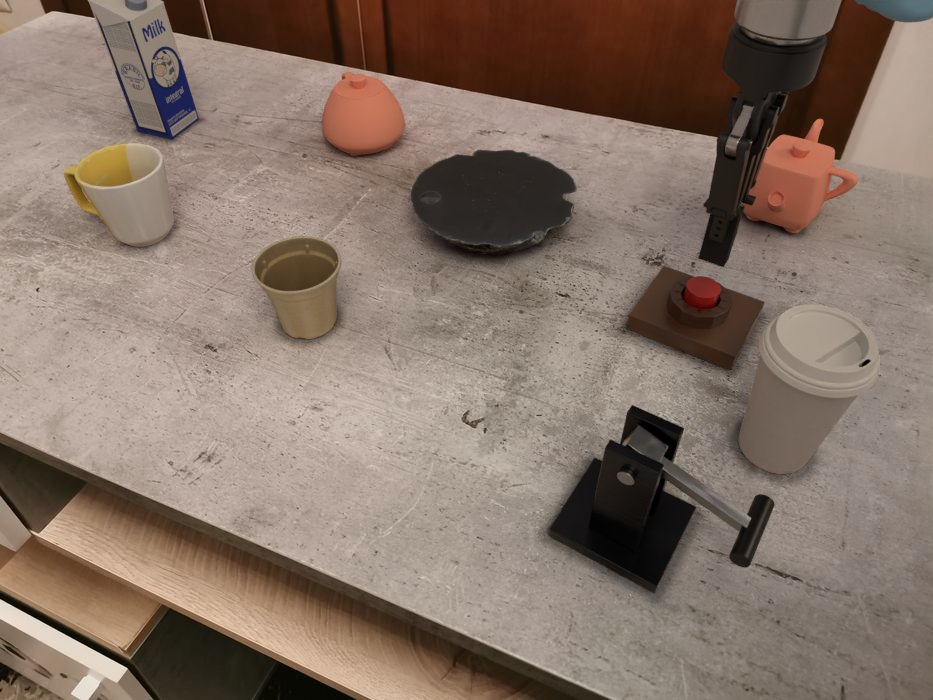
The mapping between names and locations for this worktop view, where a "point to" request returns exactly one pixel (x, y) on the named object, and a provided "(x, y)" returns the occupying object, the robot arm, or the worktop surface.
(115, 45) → the milk carton
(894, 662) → the worktop surface
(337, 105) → the sugar bowl
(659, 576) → the lever bracket
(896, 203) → the worktop surface
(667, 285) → the button block
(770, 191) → the teapot
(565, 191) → the board
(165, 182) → the mug
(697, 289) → the button
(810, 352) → the coffee cup
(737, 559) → the press lever
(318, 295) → the flower pot
